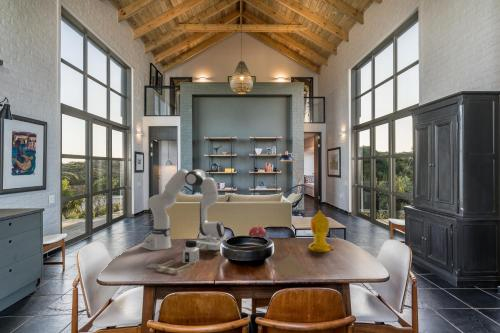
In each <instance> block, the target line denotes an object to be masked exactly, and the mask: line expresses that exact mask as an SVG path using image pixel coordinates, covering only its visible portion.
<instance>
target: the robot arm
mask: <svg viewBox="0 0 500 333" xmlns="http://www.w3.org/2000/svg"><path fill="white" fill-rule="evenodd" d="M207 176H208V175H207V172H206V171H205V170H204V169H202V168H197V169H193V170H190V171H188V170H187V169H185V168H180V169H179V170H178V171H176V172H175V173H174V174H173V175H172V177H171V178H170V179H169V180H168V181H167V183H166V184H165V185H164V190H163V191H162V193H160V194H154V195H153V196H151V197H149V198H148V200H147V206H148V208H149V209H150V211H151V213H152V216H153V228H151V229H150V232H151V233H150V234H149V235H148V236H147V237H145V239H144V243H143V244H141V245H140V248H142V249H147V250H150V251H159V250H167V249H170V248H171V247H172V242H171V235H170V234H171V227H170V216H169V215H168V212H167V209H170V208H171V207H173V206H174V205H175V203H176V198H177V197H178V195H179V194H180V192H181V191H182V190H183V189H184V187H185V186H186V185H189V186H191V187H196V188H197V187H198V188H200V189H201V194H202V195H201V196H202V200H201V201H200V202H199V228H198V230H199V232H200V234H201V235H202V236H203V237H205V239H204V240H202V239H196V240H195V241H196V248H199V250H203V249H204V250H205V249H206V250H208V251H218V250H219V251H220V250H221V249H220V244H221V242H222V241H223V240H226V241H227V235H226V230H225V228H226V227H225V225H224V223H223V222H222V221H220V220H219V221H218V220H217V221H209V220H208V209H209V208H210V207H211V206H214V205H215V204H216V203H217V202H218V200H219V191H218V187H217V186H218V185H217V183H216V180H215V179H214V178H213V177H209V176H208V177H207Z"/></svg>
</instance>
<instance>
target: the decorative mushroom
mask: <svg viewBox="0 0 500 333" xmlns="http://www.w3.org/2000/svg"><path fill="white" fill-rule="evenodd" d="M250 236H255V237H263V238H265V237H267V231H266V229H265V228H264V227H263V226H261V225H255V226H253V227H252V228H250V229H249V231H248V237H250Z"/></svg>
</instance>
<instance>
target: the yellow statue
mask: <svg viewBox="0 0 500 333" xmlns="http://www.w3.org/2000/svg"><path fill="white" fill-rule="evenodd" d="M310 230H311V232H312V234H313V238H314V240H313V242H311V243H310V244H309V245H308V250H310V251H312V252H318V253H327V252H330V251H332V250H334V245H332V246H331V245H330V244H329V243H327V242H326V237H327V235H328V233H329V231H330V219H329V218H328V217H327V216H325V214H324V213H323V212H322V210H320V209H319V210H318V211H317V213H316V214H314V216H312V217H311V219H310Z"/></svg>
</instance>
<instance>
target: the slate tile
mask: <svg viewBox="0 0 500 333" xmlns="http://www.w3.org/2000/svg"><path fill="white" fill-rule="evenodd" d="M159 265H161V263H151V264H149V265H148V266H146V267H145V268H146V269H148V270H157V266H159Z"/></svg>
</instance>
